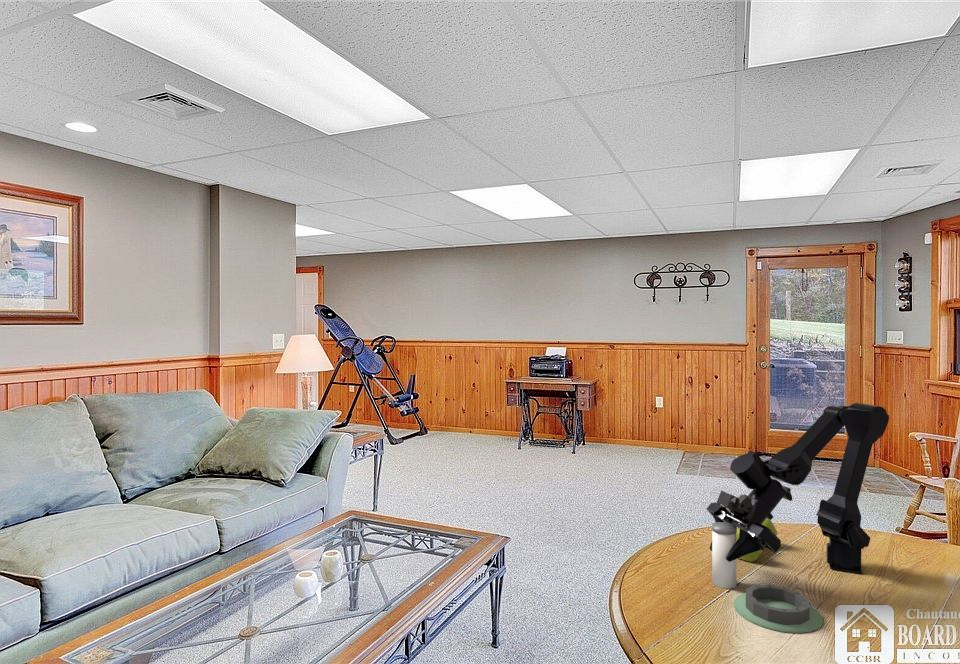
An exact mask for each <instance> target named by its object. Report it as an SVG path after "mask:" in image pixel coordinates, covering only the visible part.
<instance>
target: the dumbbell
mask: <svg viewBox="0 0 960 664" xmlns="http://www.w3.org/2000/svg"><path fill="white" fill-rule="evenodd" d="M762 525H764V526H766V527H768V528H769V529H770V530H771V531H772V532H773V533H774V534H775V535H776V536H777V537H778V531H777V529H776V526H775V525H774V523H773V521H772V519H771V520H770V519H768V518H767V519H766V520H765V521H764V522H763V524H762ZM746 528H747V527H746ZM739 533H740V528H737V533H736V542H737V540H738V539H739ZM763 547H765V545H764V546H763ZM762 552H763V551H762V550H759V551H756V552H753V553H750V554H747V555H744V556H742V557H740V558H738V560H740V559H742V560H741V561H744V560H746V561H745V562H748V561H750V562H749V563H753V562H755V561H756V560H757V559H759V557H760V556H761V554H762Z"/></svg>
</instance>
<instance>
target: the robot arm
mask: <svg viewBox="0 0 960 664" xmlns="http://www.w3.org/2000/svg"><path fill="white" fill-rule="evenodd" d="M889 420H890V415H889V414H888V413H887V410H886V409H885V408H884V407H882V406H880V405H873V404H868V403H862V402H861V403H860V402H853V403H852V404H850V405H828V406H826V407H825V409H824V410H823V412H822V414H821V415H820V416H819V417H818V418H817V419H816V420H815V422H814V423H813V424H812V425H811V426H810V427H809V428H807V430H806V431H805V432H804V433H803V434H802V436H800V437H799V439H798V440H797V441H796V442H794V444H792V445H791V446H788V447H785V448H783V449H781V450H780V451H778V452H777V453H776V454H773V456H771V457H770V458H769V459H767V460H763V459H762V458H761V457H760V455H759V453H757V451H753V450H748V452H747V453H744V454H741V455H739V456H737V457H736V458H734V459H733V460H732V462H731V463H730V471H731V472H732V473H733V475H735V477H736V478H737V479H739V481H740V482H741V483H742V484H743V485H744V486H745V487H746V488H747V489H749V490H751V491H750V493H749V494H748V495H747V494H744V493H743V494H740V496H738V497H737V496H735V495H732V494H730V493H728V492H726V491H723V490H721V491H720V492H719V496H718V497H717V500H716V502H710V504H709V505H708V506H707V508H706V511H707V512H708V513H709V514H710V515H711V516H712V518H713V520H714V521H715V522H726V523H730V524H733V525H735V526H736V527H737V529H740V533H739V539H738V540H737V542H736V543H735V544H734V546H733V547H732V549H731V550H730V552H729V553H728V555H727V557H726V560H727V561H729V562H730V561H733V560H735V559H736V560H737V558H740V557H742V556H744V555H747V554H750V553H753V552H756V551H759V550H762V552H763V551H765V548H766V550H769V551H771V552H772V553H774V554H777V552H778V551H779V550H780V549H781V547H782V541H781V539H780V538H779V537H778V535H777V536H776V535H775V534H774V533H773V532H772V531H771V530H770V529H769V528H768V527H766V526H764V525H762V524H763V522H764V521H765V520H766V519H767V518H768V519H770V520H771V521H772V520H773V519H774V517H775V516H774V515H773V514H772V512H773V511H774V510H775V508H776V507H777V506H778V505H779V503H780V502H781V501H782V499H785V500H787V501H789V502H792V501H793V496H792V492H791V490H792V489H791V488H790V487H787V486H785V485H783V484H782V483H781V482H783V483H786V484H788V485H791V486H799V485H800V486H801V484H803V483H804V481H805V480H806V478H807V477H808V475H809V474H810V472H811V471H812V467H813V465H812V464H813V461H814V459H815V458H816V456H818V455H819V454H820V453H821V451H823V449H824V448H825V447H826V446H827V445H828V444H829V443H830V442H831V441H832V440H833V439H834V437H835V436H836V435H837V434H838V433H839V432H840V431H841V430H842V429H843V428H844V427H845V428H844V429H845V431H846V434H847V442H846V444H845V445H846V446H845V448H844V449H845V450H844V453H843V457H842V461H841V464H840V469H839V471H838V476H837V479H836V483H835V486H834V490H833V494H832V495H831V496H830V497H829V498H828V499H826V500H825V499H821V500H820V502H819V508H818V511H817V512H816V514H815V515H816V516H817V524H818V525H819V528H820V530H821V532H822V533H821V534H822V536H823V537H827V538H829V541H828V542H826V549H825V550H826V551H825V552H826V555H825V556H826V563H827V564H828V565H829V569H831V570H834V571H841V572H848V573H855V574H859V575H860V574H862V575H863V573H864V572H863V571H864V570H863V569H862V550H863V549H865V548H866V547H867V548H868V547H869V545H870V542H871V537H870V536H869V535H868V533H867V532H866V531H865V530H864V529H863V528H862V526H861V523H862V514H861V511H860V508H859V505H858V500H859V497H860V493H861V490H862V485H863V483H864V482H863V481H864V479H865V474H866V472H867V467H868V463H869V459H870V456H871V451H872V448H873V445H874V443H876V442H878V440H879V439H880V438H881V437H883V436H884V434H885V432H886V429H887V426H888V425H889V422H890V421H889ZM780 481H781V482H780ZM715 522H714V523H715ZM746 527H747V528H746ZM764 545H765V546H764ZM709 550H710V551H711V552H712V541H711V542H710V546H709Z"/></svg>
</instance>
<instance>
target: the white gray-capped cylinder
mask: <svg viewBox="0 0 960 664" xmlns="http://www.w3.org/2000/svg"><path fill="white" fill-rule="evenodd" d="M711 530H712V531H711V535H712V536H711V537H712V538H711V542H712V551H711V554H712V557H711V558H712V560H711V561H712V562H711V563H712V565H711V566H712V567H711V571H712V572H711V573H712V577H711V578H712V581H711V582H712V584H713V585H714V586H716V587H718V588H721V589H734V588H736V587H737V559H735V560H733V561H730V562H729V561H727V560H726V557H727V555H728V553H729V552H730V550H731V549H732V547H733V546H734V544H735V543H736V533H737V530H738V527H736V526H735V525H733V524H730V523H726V522H713V523H711Z"/></svg>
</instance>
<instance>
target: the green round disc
mask: <svg viewBox="0 0 960 664" xmlns="http://www.w3.org/2000/svg"><path fill="white" fill-rule="evenodd" d="M733 607H734V609H735V611H736V612H737V614H738V615H740V616H741V617H742V618H744V620H746V621H748V622H750V623H751V624H753V625H756V626H759V627H762V628H765V629H768V630H771V631H775V632H779V633H780V632H781V633H786V634H787V633H788V634H807V633H811V632H815V631H818V630H819V629H820V628H821V627H822V626H823V616H822V614H821V613H820V612H819V610H818V609H816V608H815V607H813V606H812V605H811V604H810V601H809V599H808V598H806V597H805V596H804V595H803V594H802V593H800V592H799V591H795V590H792V589H790V588H787V587H785V586H779V585H773V584H754V585H751V586H750V587H748V588H746V589H745V592H743V593H740V594H739V595H737V596H736V597H735V598H734V601H733Z"/></svg>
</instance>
